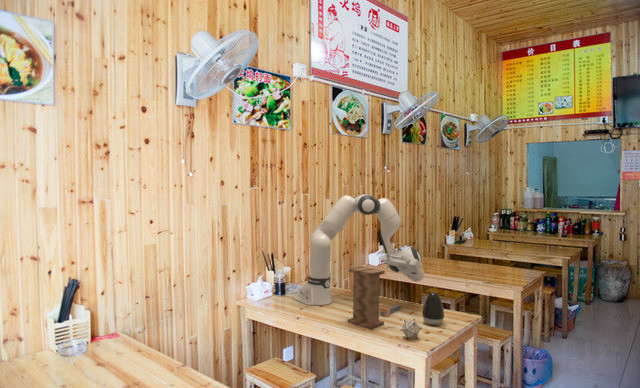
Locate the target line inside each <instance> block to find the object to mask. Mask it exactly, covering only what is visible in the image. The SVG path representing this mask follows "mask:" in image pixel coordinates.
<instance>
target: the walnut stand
mask: <svg viewBox="0 0 640 388" xmlns="http://www.w3.org/2000/svg"><path fill="white" fill-rule="evenodd" d="M348 272H349V273H353V287H352V288H353V292H352V293H353V294H352V296H353V297H352V302H353V305H352V317H351V318H349V319H347V323H348V324H350V325H353V326H357V327H361V328H363V329H367V330H371V331H373V330H375V329H378V328H380V327H382V326H384V325H385V321H384V320H379V319H380V316H379V308H380V276H381V275H384V274H385V270H384V269H379V268H378V269H377V268H372V267H367V266H361V265H360V266H355V267H351V268H349V269H348Z"/></svg>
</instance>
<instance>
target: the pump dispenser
mask: <svg viewBox="0 0 640 388" xmlns="http://www.w3.org/2000/svg"><path fill="white" fill-rule="evenodd" d="M443 305H444V304H443V302H442V298H441V297H440V294H438V293H437V292H435V291H431V292H429V293H428V295H427V296H426V298H425V301H424V303H423V305H422V307H423V308H422V312H421V315H422V318H423V320H424V322H425V323H426V324H428V325H430V326H438V325H440V324H441V323H442V322H443V321H444V318H445V312H444V306H443Z"/></svg>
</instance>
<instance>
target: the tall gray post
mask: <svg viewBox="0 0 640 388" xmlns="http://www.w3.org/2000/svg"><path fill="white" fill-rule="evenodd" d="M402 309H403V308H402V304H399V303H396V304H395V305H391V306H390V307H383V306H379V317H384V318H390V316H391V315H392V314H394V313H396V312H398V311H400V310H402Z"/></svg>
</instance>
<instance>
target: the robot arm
mask: <svg viewBox="0 0 640 388" xmlns="http://www.w3.org/2000/svg"><path fill="white" fill-rule="evenodd" d="M356 212H359V213H360V214H362V215H364V216H365V215H366V216H370V215H373V214H375V215H376V217H377V219H378V221H379V223H380V226H381V228H380V230H379V236H380V237H379V238H380V241H381V243H382V246H383V250H384V253H385V254H384V255H383V257H382V261H383V262H384V263H385V264H388V267H389V269H390V270H391V271H392V272H394V273H402V274H403V275H404V276H405V277H407V278H408V279H409V280H411V281H412V282H416V283H418V282H421V281H422V280H423V279H424V278H425V271H424V270H423V268H422V266H423V261H422V260H423V259H422V258H423V257H422V256H421V254H420V252H419V251H418V250H417V249H415V248H414V247H410V248H407V249H405V250H402V251H400V252H396V253H395V252H394V249H393V245H392V243H391V237H392V236H394V234H396V232H397V231H398V230H399V228H400V227H401V222H402V220H401V217H400V214H399V213H398V211H397V209H396V207H395V206H394V205H393V203H392V202H391V201H390V200H389V198H385V197H381V198H379V199H377V198H375V197H374V196H371V194H364V193H362V194H361V193H360V194H358V195H357V196H355V197H352V196H350V195H348V194H347V195H345V194H344V195H343V196H341V198H339V200H338V201H337V202H336V203H335V204H334V205H333V206H332V208H331V210H330V211H329V212H328V213H327V215H326V217H325V218H324V219H323V220H322V222H320V224H319V225H318V226H317V227H316V228H315V230H314V231H313V232H312V233H311V236H310V238H309V243H310V259H309V260H310V261H309V276H306V277H305V279H306V280H307V281H306V283H305V284H303V285H302V286H300V287H299V289H298V294H297V295H295V296H294V297H293V299H294V300H295V301H298V302H300V303H303V304H305V305H307V306H325V305H330V304H332V303H333V299H332V293H331V276H330V275H331V274H330V273H331V271H330V269H331V265H330V264H331V252H332V241H333V240H334V238H335V237H336V236H337V235H338V234H339V233H340V232H341V231H342V229H343V228H344V227H345V225H346V224H347V223H348V221H349V220H350V219H351V216H353V214H354V213H356Z"/></svg>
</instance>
